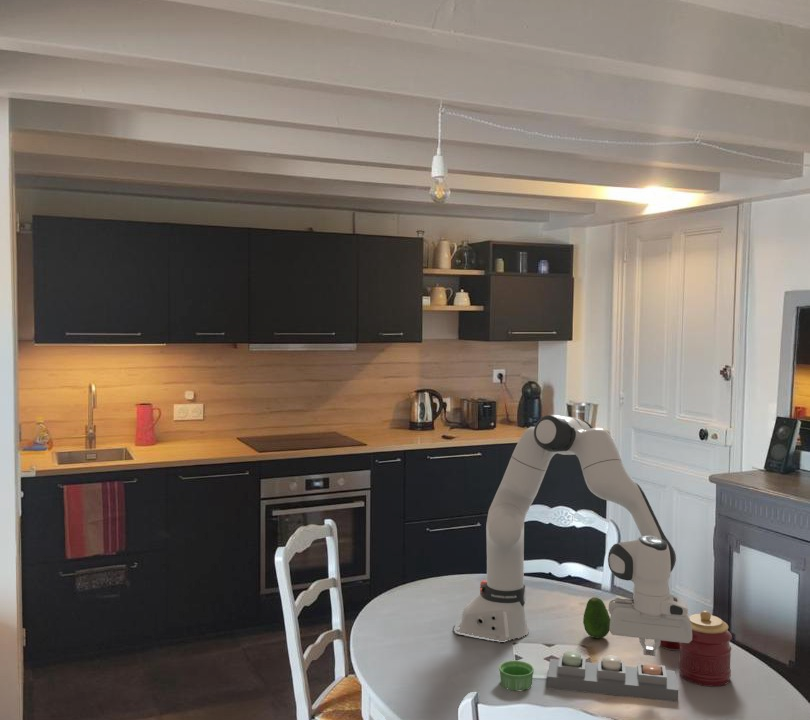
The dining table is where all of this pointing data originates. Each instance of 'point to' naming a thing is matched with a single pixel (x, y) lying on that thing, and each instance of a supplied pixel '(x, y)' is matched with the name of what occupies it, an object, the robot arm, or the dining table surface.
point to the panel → (613, 680)
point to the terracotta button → (651, 669)
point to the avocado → (596, 618)
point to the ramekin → (516, 675)
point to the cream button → (611, 663)
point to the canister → (706, 651)
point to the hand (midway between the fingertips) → (649, 654)
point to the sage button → (572, 659)
